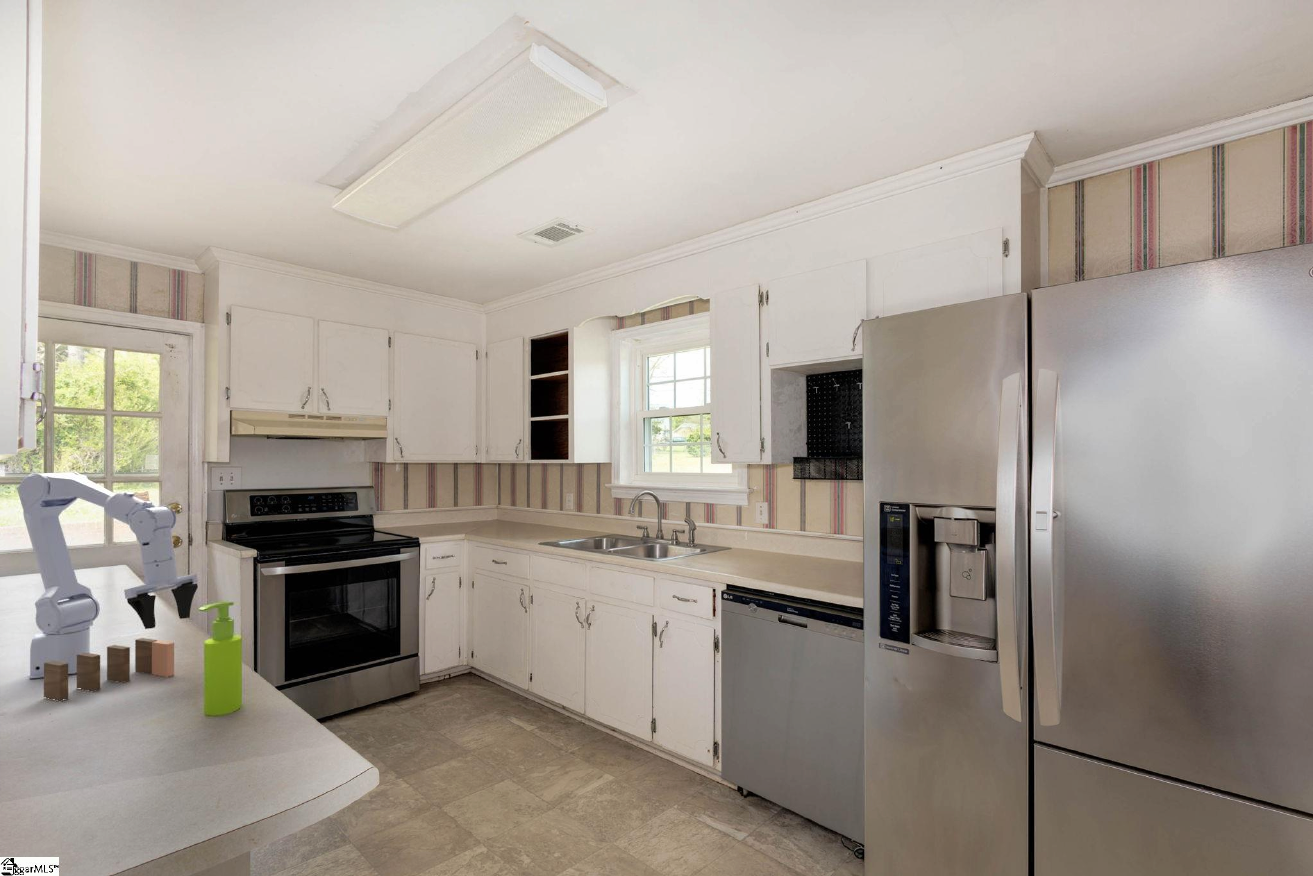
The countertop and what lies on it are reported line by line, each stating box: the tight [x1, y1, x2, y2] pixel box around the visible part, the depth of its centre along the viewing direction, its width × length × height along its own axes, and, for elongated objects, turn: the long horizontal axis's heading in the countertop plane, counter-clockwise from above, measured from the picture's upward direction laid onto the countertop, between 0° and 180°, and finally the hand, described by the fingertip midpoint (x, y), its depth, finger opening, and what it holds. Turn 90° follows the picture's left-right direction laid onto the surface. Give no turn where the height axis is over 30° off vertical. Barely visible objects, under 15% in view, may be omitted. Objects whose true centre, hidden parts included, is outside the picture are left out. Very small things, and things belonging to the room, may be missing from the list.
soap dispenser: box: [197, 600, 243, 717], centre depth 123 cm, size 6×7×20 cm
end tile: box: [43, 661, 69, 702], centre depth 130 cm, size 1×5×7 cm, turn 69°
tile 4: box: [76, 653, 101, 692], centre depth 135 cm, size 1×5×7 cm, turn 69°
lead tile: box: [151, 640, 175, 678], centre depth 143 cm, size 1×5×7 cm, turn 69°
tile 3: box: [106, 644, 131, 684], centre depth 140 cm, size 1×5×7 cm, turn 70°
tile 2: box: [134, 637, 158, 675], centre depth 145 cm, size 1×5×7 cm, turn 69°
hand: (167, 623), depth 144 cm, fingers open, 7 cm apart
